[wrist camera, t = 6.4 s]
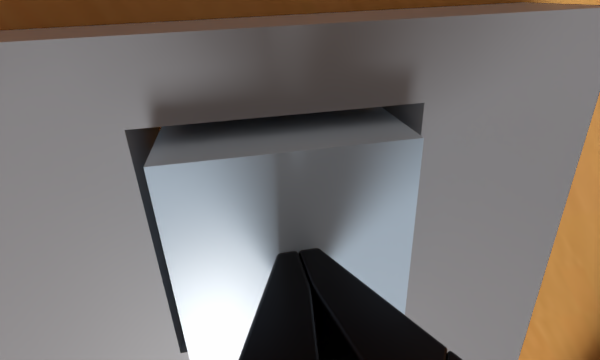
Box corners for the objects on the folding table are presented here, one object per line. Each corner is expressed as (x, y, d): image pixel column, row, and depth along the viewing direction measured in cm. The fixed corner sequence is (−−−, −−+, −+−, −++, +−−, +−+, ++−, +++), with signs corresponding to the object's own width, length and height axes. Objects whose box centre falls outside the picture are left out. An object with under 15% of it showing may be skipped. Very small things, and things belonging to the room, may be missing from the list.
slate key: (378, 104, 9) (423, 137, 7) (369, 269, 12) (402, 332, 9) (163, 123, 9) (143, 167, 6) (197, 295, 11) (192, 369, 9)
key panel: (522, 2, 10) (625, 6, 8) (435, 445, 19) (470, 517, 17) (-62, 33, 8) (-193, 53, 6) (141, 511, 17) (127, 605, 15)
